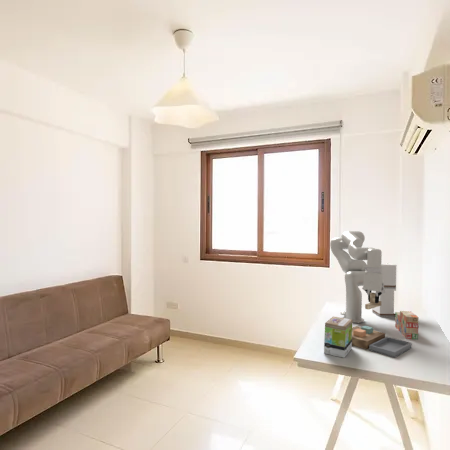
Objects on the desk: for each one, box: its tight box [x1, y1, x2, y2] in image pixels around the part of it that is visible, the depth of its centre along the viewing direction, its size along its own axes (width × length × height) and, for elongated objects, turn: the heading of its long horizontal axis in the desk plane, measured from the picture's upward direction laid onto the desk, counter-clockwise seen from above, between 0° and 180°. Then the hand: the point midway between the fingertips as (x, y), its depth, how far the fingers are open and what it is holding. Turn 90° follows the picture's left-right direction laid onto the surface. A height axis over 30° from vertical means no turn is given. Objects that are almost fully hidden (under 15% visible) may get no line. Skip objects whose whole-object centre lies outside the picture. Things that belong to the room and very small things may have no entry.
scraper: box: [364, 291, 381, 310], centre depth 192 cm, size 3×16×8 cm, turn 131°
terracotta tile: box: [353, 329, 366, 337], centre depth 174 cm, size 4×4×2 cm
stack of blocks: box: [394, 310, 420, 340], centre depth 192 cm, size 21×6×12 cm, turn 167°
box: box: [368, 336, 413, 359], centre depth 166 cm, size 12×20×2 cm, turn 131°
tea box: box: [323, 316, 353, 359], centre depth 162 cm, size 15×10×15 cm
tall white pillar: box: [372, 262, 397, 318], centre depth 230 cm, size 11×11×35 cm
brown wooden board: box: [352, 325, 386, 350], centre depth 177 cm, size 16×20×4 cm
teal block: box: [360, 325, 374, 334], centre depth 179 cm, size 4×4×2 cm
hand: (373, 302), depth 192 cm, fingers closed on scraper, 3 cm apart
